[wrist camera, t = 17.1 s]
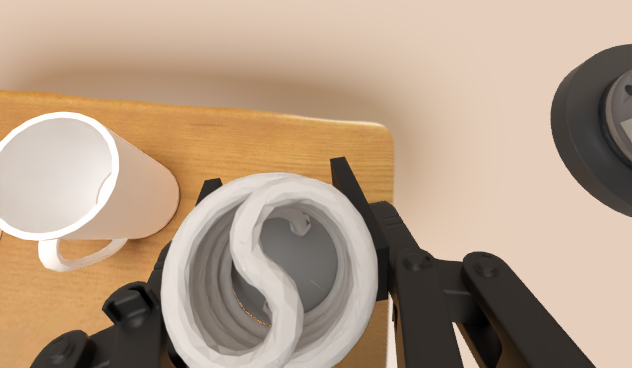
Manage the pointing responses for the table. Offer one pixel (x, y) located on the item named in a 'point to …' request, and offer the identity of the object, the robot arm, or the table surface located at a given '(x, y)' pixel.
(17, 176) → the mug
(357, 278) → the light bulb
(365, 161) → the table surface
